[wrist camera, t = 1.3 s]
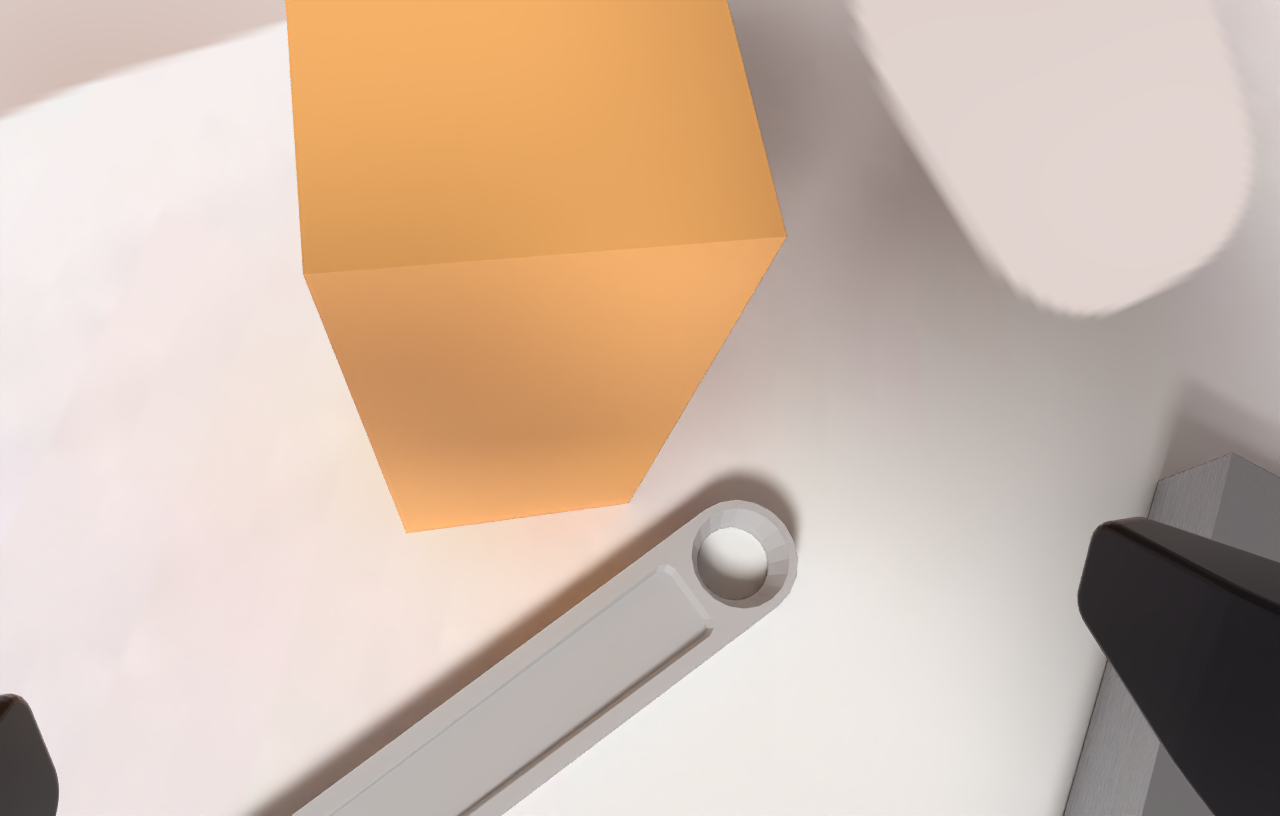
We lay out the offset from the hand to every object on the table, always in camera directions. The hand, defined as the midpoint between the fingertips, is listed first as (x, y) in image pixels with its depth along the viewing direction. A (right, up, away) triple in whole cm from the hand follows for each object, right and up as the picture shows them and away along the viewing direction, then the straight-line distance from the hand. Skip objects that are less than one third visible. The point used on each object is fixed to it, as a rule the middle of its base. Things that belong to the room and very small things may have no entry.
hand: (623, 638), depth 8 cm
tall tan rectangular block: (-3, +2, +14) cm, 14 cm away
